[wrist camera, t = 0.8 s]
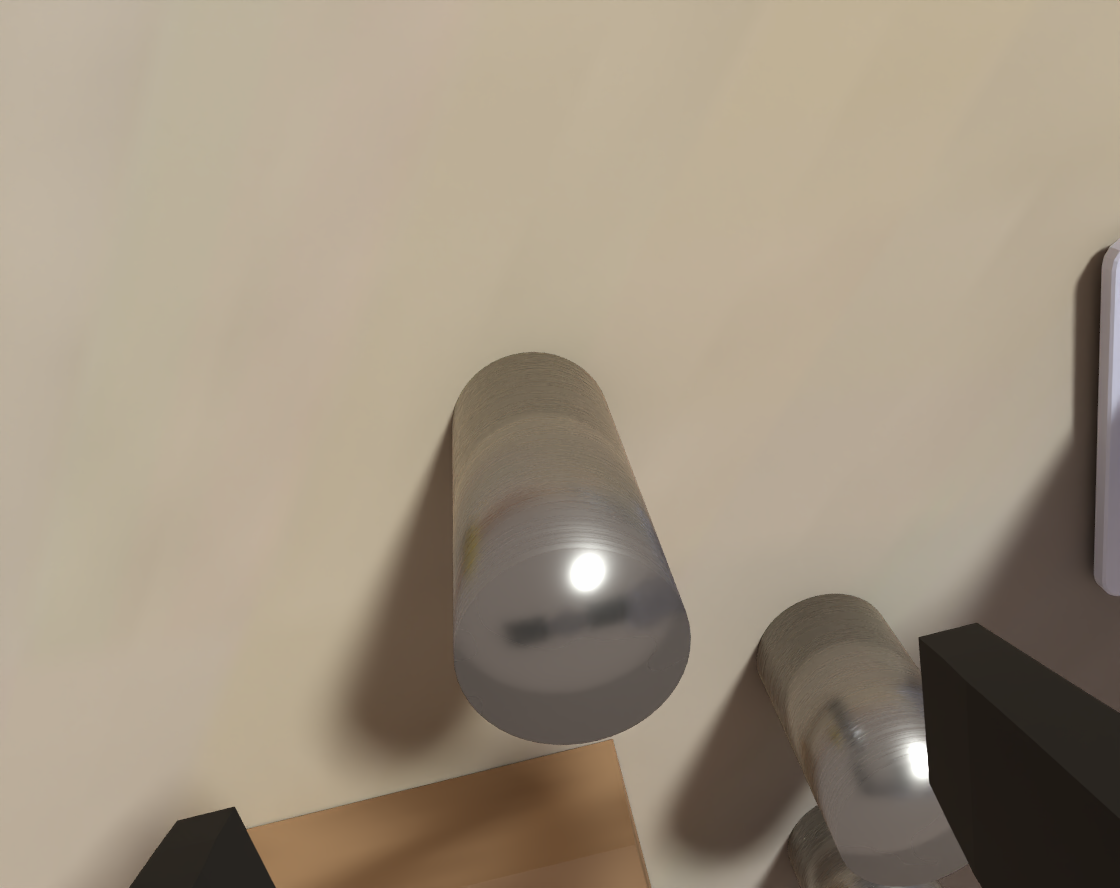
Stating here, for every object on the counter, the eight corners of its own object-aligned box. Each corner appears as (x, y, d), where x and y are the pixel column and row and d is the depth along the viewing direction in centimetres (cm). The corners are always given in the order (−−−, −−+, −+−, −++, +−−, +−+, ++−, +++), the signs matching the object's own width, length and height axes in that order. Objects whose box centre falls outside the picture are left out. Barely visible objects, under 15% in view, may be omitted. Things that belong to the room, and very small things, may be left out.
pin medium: (883, 579, 21) (1002, 741, 16) (892, 686, 22) (1004, 863, 18) (747, 612, 21) (829, 784, 16) (765, 717, 22) (845, 903, 18)
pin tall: (591, 335, 18) (669, 522, 12) (622, 475, 19) (707, 713, 13) (433, 374, 18) (424, 584, 12) (474, 511, 19) (487, 767, 13)
